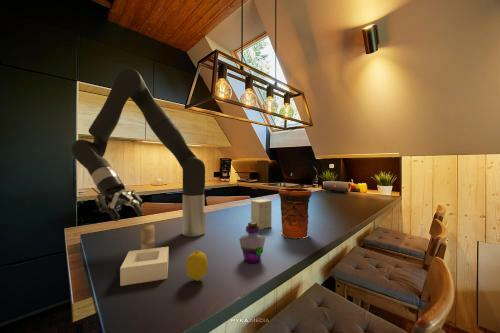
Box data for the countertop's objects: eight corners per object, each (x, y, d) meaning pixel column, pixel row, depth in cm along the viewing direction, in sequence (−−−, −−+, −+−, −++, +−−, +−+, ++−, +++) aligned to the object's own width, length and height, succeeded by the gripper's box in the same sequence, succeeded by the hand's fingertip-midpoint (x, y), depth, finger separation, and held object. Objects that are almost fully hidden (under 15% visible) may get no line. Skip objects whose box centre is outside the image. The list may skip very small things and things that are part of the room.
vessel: (273, 237, 90) (274, 189, 90) (281, 228, 103) (282, 187, 104) (308, 242, 85) (309, 191, 85) (312, 232, 98) (313, 188, 98)
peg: (155, 253, 73) (155, 224, 73) (154, 258, 70) (154, 227, 69) (142, 254, 72) (142, 225, 72) (140, 259, 68) (140, 228, 68)
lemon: (188, 275, 59) (188, 246, 59) (208, 274, 60) (209, 246, 59) (184, 287, 54) (184, 255, 53) (206, 286, 54) (206, 254, 54)
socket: (168, 260, 68) (168, 246, 68) (167, 278, 57) (167, 261, 57) (129, 265, 64) (129, 251, 64) (120, 285, 54) (120, 268, 54)
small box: (263, 224, 109) (263, 198, 109) (271, 227, 104) (272, 200, 104) (250, 226, 105) (250, 200, 104) (258, 230, 99) (259, 202, 99)
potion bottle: (257, 269, 63) (257, 228, 63) (233, 261, 68) (233, 223, 67) (270, 258, 70) (270, 221, 70) (248, 252, 75) (248, 217, 75)
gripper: (91, 176, 71) (115, 214, 66) (130, 174, 84) (152, 206, 79) (81, 191, 73) (104, 229, 68) (121, 187, 86) (142, 218, 82)
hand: (130, 216), depth 74 cm, fingers open, 8 cm apart
